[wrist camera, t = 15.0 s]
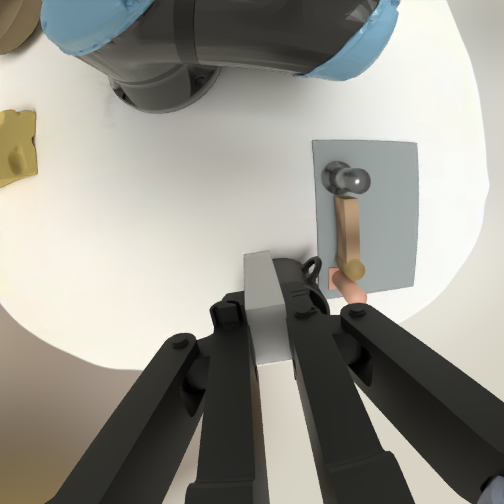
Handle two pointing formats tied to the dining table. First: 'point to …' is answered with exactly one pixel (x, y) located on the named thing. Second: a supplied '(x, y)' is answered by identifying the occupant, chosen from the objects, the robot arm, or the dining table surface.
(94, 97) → the dining table surface
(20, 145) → the cheese
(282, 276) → the mug
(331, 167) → the pivot post
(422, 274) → the dining table surface
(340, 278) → the post
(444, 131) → the dining table surface
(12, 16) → the bowl
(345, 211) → the gate
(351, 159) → the mat
